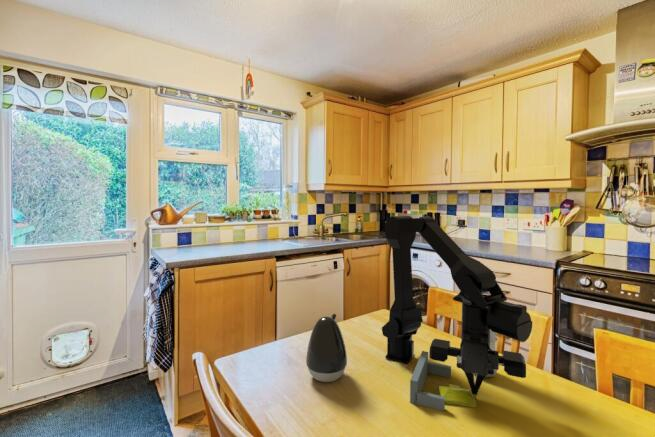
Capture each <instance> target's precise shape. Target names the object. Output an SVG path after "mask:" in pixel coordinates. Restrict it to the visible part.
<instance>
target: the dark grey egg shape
mask: <svg viewBox="0 0 655 437" xmlns="http://www.w3.org/2000/svg"><path fill="white" fill-rule="evenodd" d="M336 318H337V314H336V313H332V315H331V316H322V317H320V318H319V319H318V320H317V321H316V322H315V324H314V326H313V328H312V331H311V333H310V336H309V339H308V345H307V351H306V355H305V356H306V357H305V361H306V362H305V363H306V364H305V365H306V366H307V369H308V372H309V374H310V375H311V377H313V378H314V379H315V380H316V381H319V382H323V383H331V382H334V381H337V380H339V379H340V378H341V377H342V376H343V374H344V372H345V369H346V366H348V357H347V350H346V344H345V340H344V337H343V334H342V331H341V329H340V326H339V324H338V323H337V321H336Z"/></svg>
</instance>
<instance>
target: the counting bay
mask: <svg viewBox="0 0 655 437" xmlns="http://www.w3.org/2000/svg"><path fill="white" fill-rule="evenodd" d="M413 370H414V371H413V373H412V374H411V378H410V380H409V382H410V383H409V384H410V385H409V387H410V389H409V393H410V394H409V400H410V401H409V402H410V403H412V404H415V405H419V406H423V407H427V408H430V409H434V410H438V411H441V412H445V406H446V403H445V397H442V396H440V395H439V394H438V395H437V394H434V393H430V392H426V391H422V390H423V387H424V385H425V382H426V379H427V376H428V374H431V375H434V376H435V375H436V376H439V377H440V376H441V377H444V378H449V379H451V377H452V366H451V365H448V364H447V365H446V364H442V363H437V362H433V361H432V362H431V361H429V351H427V350H426V351H425V350H422V351H421V353H420V355H419V358H418V360H417V363H416V365H415V368H414V369H413Z"/></svg>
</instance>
